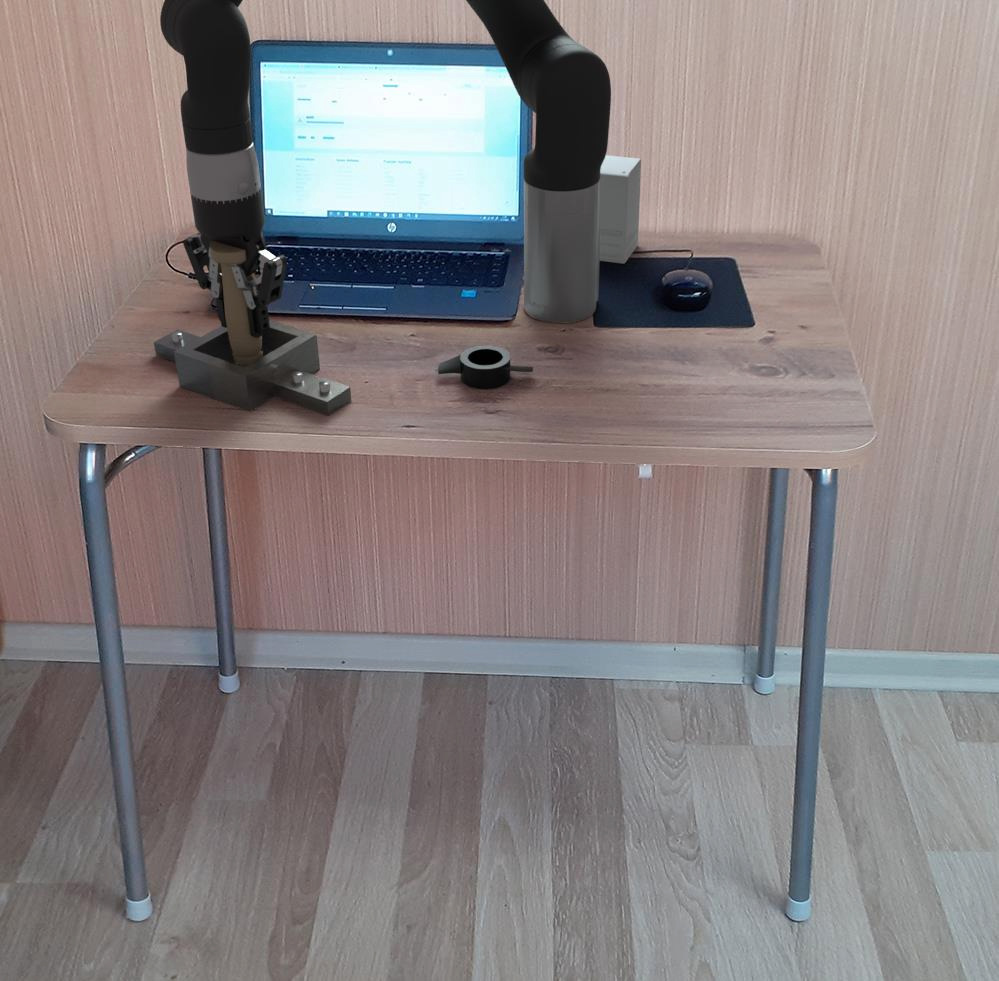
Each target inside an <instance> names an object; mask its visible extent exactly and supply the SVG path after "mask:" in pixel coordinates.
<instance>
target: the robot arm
mask: <svg viewBox="0 0 999 981" xmlns="http://www.w3.org/2000/svg"><path fill="white" fill-rule="evenodd" d="M243 1H244V0H164V2H163V4H162V7H161V12H160V20H159V22H160V23H159V24H160V30H161V33H162V35H163V37H164V39H165V41H166V43H167V44H168V45H169V46H170V47H171V48H172V49H173V51H175V52H177V53H178V54H179V55H182V57H183V61H184V65H185V74H186V87H187V88H186V90H185V91H184V92H183V94H182V95H181V99H180V116H181V122H182V129H183V137H184V144H185V152H186V153H185V154H186V163H185V164H186V173H187V180H188V186H189V192H190V199H191V206H192V212H193V219H194V225H195V229H196V231H197V232H198V233H195V234H192V235H190V236H189V237H187V238H184V239H183V240H182V241H183V242H182V244H183V248H184V249H185V252H186V255H187V257H188V260H189V262H190V264H191V267H192V270H193V272H194V275H195V277H196V280H197V282H198V285H199V287H200V288H201V289H202V290H207V289H208V290H209V291H210V294H211V296H213V298H215V302H216V303H215V304H216V310H217V317H218V320H219V322H220V326H222V327H225V328H227V324H226V318H225V307H224V294H223V282H222V271H221V264H220V263H218V262H216V261H215V260H214V259H213V258H212V256H211V252H210V242H211V240H212V241H216V242H219V243H222V244H226V245H229V246H233V247H237V248H240V249H244V250H246V261H245V262H244V263H242V264H235V265H230V266H231V268H232V271H233V274H234V277H235V280H236V283H237V286H238V288H239V289H240V290H242V291H243V293H244V296H245V299H246V302H247V305H248V308H247V312H248V320H249V327H250V334H251V336H253V337H256V338H258V337H260V336H262V335H264V334H265V333H267V331H268V330H269V327H270V324H269V320H270V318H269V309H268V306H270V305H272V304H273V303H275V302H278V301H280V299H281V297H282V293H283V289H284V288H283V287H284V283H285V278H286V277H285V275H286V270H287V265H288V259H287V258H286V256H285V255H284V254H279V255H277V256H275V255H274V254H272V253H271V252H270V251H268V250H267V246H266V242H265V243H264V241H263V238H262V236H263V234H262V235H261V232H262V233H263V228H264V226H265V223H266V222H265V221H266V216H265V208H264V198H263V193H262V192H263V190H262V184H261V177H260V176H261V175H260V166H259V160H258V155H257V152H256V149H255V145H254V139H253V130H252V121H251V114H250V113H251V112H250V106H249V103H248V101H249V93H250V84H251V83H250V82H251V66H252V46H251V39H250V38H251V37H250V32H249V28H248V25H247V22H246V19H245V17H244V15H243V13H242V12H241V10H240V9H239V7H240V5H241V4H242V3H243ZM465 1H466V3H467V4H468V5H469V6H470V8H471V9H472V11H473V12H474V13H475V14H476V15H477V17H478V18H479V20H480V21H481V22H482V24H483V25H484V27H485V29H486V30H487V32H488V35H489V36H490V38H491V40H492V41H493V43H494V46H495V48H496V50H497V52H498V54H499V56H500V58H501V61H502V63H503V65H504V66H505V69H506V71H507V73H508V75H509V77H510V80H511V82H512V84H513V86H514V88H515V90H516V93H517V94H518V96H519V98H520V99H521V101H522V102H523V103H524V105H526V107H527V108H529V110H531V111H532V112H533V113H535V136H534V138H535V139H534V148H532V149H530V150H529V151H528V152H527V153H526V154H525V156H524V159H523V308H524V312H525V313H526V314H527V315H528V316H530V317H531V318H533V319H535V320H538V321H541V322H545V323H553V324H567V323H575V322H579V321H584V320H585V319H587V318H589V317H591V316H592V315H594V313H595V312H596V311H597V310H596V309H597V302H598V301H599V289H600V288H599V287H600V286H599V284H600V262H601V261H600V232H599V231H598V229H599V192H600V170H601V165H602V163H603V161H604V159H605V156H606V155H607V152H608V147H609V146H608V145H609V144H608V143H609V134H610V133H609V132H610V119H611V118H610V117H611V106H612V105H611V104H612V102H611V101H612V91H611V90H612V86H611V84H612V83H611V77H610V73H609V69H608V68H607V65H606V64H605V62H604V61H603V59H602V58H601V57H600V56H598V55H597V54H596V53H595V52H593V51H592V50H590V49H589V48H586V47H585V46H583V45H582V44H581V43H578V42H577V41H575V40H574V39H573V38H572V37H571V36H570V34H568V32H567V31H566V30H565V29H564V27H563V26H562V25H561V23H560V22H559V21H558V19H557V18H556V17H555V16H556V15H554V14H553V12H552V10H551V9H550V7H549V6H548V4H547V3H546V1H545V0H465ZM205 266H206V269H207V272H208V275H206V271H205V269H204V268H205ZM253 273H254V275H253V276H252V277H251V278H249V279H248V280H247V279H246V277H247V276H249V275H251V274H253ZM254 286H255V287H256V290H257V294H256V295H255V294H254V291H253V287H254Z"/></svg>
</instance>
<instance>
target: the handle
mask: <svg viewBox="0 0 999 981" xmlns="http://www.w3.org/2000/svg"><path fill="white" fill-rule="evenodd" d="M210 252H211V256H212V258H213V259H214V260H215V261H216V262H218V263H220V264H221V271H222V282H223V294H224V307H225V318H226V324H227V331H228V336H229V341H230V345H231V348H232V351H233V357H234V360H235V364H236V365H239V366H242V367H246V366H248V365H250V364H252V363H253V362H255V361H257V360H258V359H260V358H262V357H263V351H260V350H261V349H262V336H260V337H258V338H256V337H253V336H251V334H250V327H249V320H248V312H247V308H248V305H247V302H246V299H245V296H244V293H243V291H242V290H240V289H239V288H238V286H237V283H236V280H235V277H234V274H233V271H232V268H231V266H230V265H235V264H242V263H244V262H245V261H246V250H244V249H240V248H237V247H233V246H229V245H226V244H222V243H219V242H216V241H212V240H211V242H210ZM252 276H253V275H252V274H251V275H249V276H247V277H246V279H247V280H248V279H249V278H251V277H252ZM253 291H254V294H255V295H257V294H256V291H255V286H254V287H253Z"/></svg>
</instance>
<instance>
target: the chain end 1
mask: <svg viewBox="0 0 999 981" xmlns="http://www.w3.org/2000/svg"><path fill="white" fill-rule="evenodd" d="M280 323H281V322H278V321H274V320H272V319H269V324H270V327H269V330H268V331H267V333H265V334H264V335H262V349H261V350H260V351H263V357H264V356H265V355H267V354H269V353H270V352H272V351H274V350H275V346H274V338H273V330H272V328H273V327H275V326H277V325H279V324H280ZM153 346H154V351H155V356H157V357H159V358H162V359H166V360H168V361H171V362H173V363H175V365H176V371H177V372H176V373H177V378H178V379H177V380H178V384H179V387H181V388H183V389H186V390H189V391H191V392H195V393H197V394H199V395H203V396H206V397H208V398H211V399H214V393H213V386H212V380H211V373H210V367H209V364H210V363H211V362H213V361H215V360H217V359H218V358H219V359H222V360H224V361H227V362H230V363H233V364H236V363H235V360H234V357H233V351H232V348H231V345H230V341H229V336H228V331H227V328H225V327H222V326H221V325H220V326H219V327H216V328H214V329H213V330H211V331H209V332H207V333H206V334H204V335H202V336H199V335H196V334H193V333H189V332H187V331H184V330H181V329H176V330H174V331H172V332H170V333H168V334H166V335H164V336H163V337H161V338H159V339H157V340H155V341H153ZM214 400H215V399H214Z"/></svg>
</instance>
